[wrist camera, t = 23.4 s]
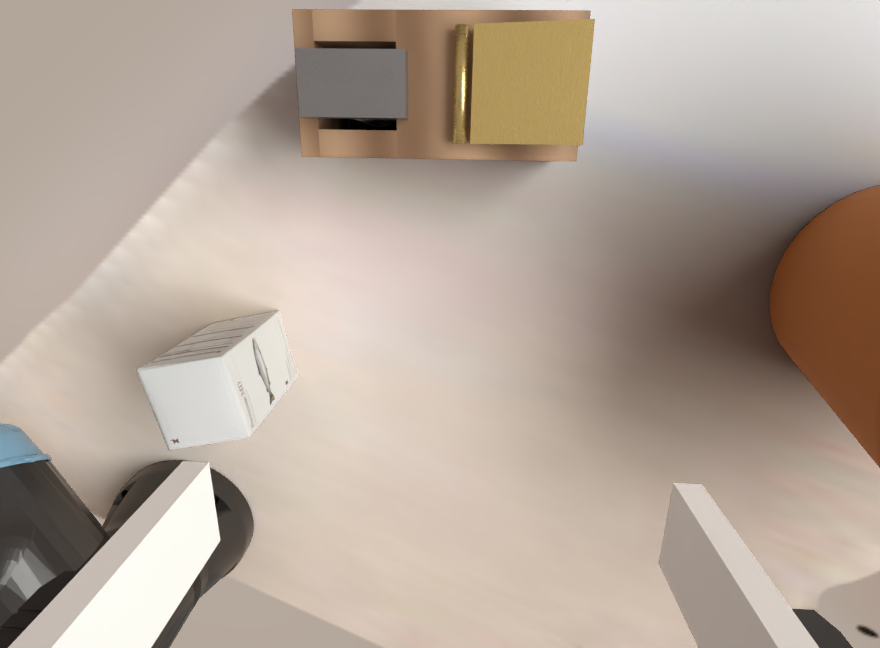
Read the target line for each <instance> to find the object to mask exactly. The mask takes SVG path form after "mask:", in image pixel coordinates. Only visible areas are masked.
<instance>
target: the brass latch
mask: <svg viewBox="0 0 880 648" xmlns="http://www.w3.org/2000/svg"><path fill="white" fill-rule="evenodd" d="M594 22H595V19H584V20H557V21H530V22H503V23H476V24H474V39H473V70H472V100H471V131H470V144H517V145H582V144H583V134H584V124H585V114H586V103H587V93H588V83H589V73H590V63H591V53H592V42H593V32H594ZM469 28H470V25H468V24H457V25H455V60H454V104H453V144H466V127H467V94H468V61H469Z"/></svg>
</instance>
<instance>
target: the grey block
mask: <svg viewBox="0 0 880 648" xmlns="http://www.w3.org/2000/svg"><path fill="white" fill-rule="evenodd" d="M295 62H296V77H297V92H298V107H299V117H302V118H306V119H354V120H357V121H360V122H363V123H366V124H369V125H372V126H375V127H386V126H389V125H391V124H392V123H394V122H395V121H396V120H408V53H407V51H406V49H337V48H295Z"/></svg>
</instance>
